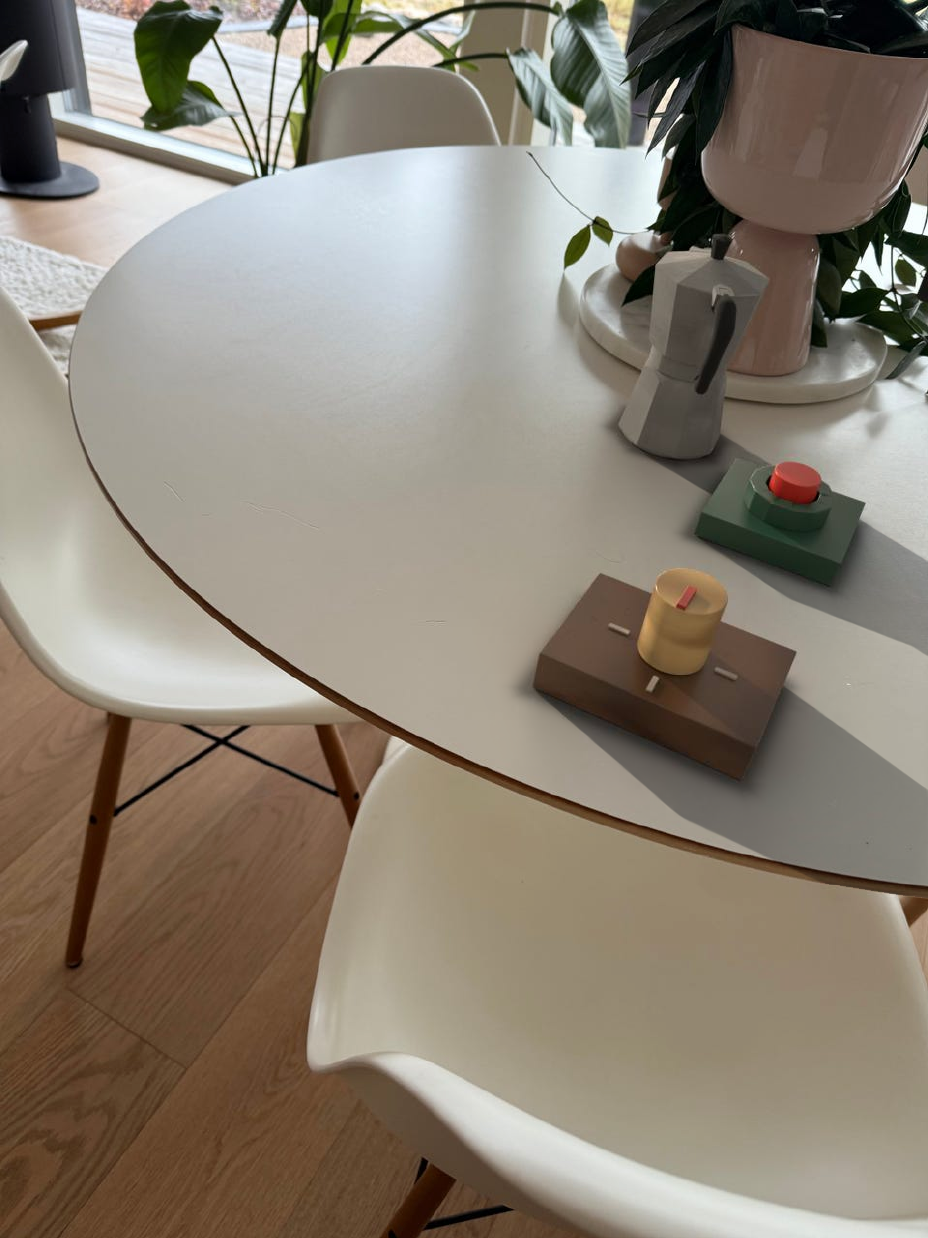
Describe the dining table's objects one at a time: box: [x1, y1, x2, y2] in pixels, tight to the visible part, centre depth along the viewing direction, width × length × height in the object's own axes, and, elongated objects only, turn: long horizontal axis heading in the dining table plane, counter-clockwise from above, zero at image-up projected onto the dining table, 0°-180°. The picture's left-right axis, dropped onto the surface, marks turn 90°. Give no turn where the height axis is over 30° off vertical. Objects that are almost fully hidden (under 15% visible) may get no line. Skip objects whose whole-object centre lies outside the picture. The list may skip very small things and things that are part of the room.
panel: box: [531, 572, 797, 781], centre depth 64 cm, size 14×10×3 cm
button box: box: [693, 457, 866, 587], centre depth 80 cm, size 11×10×4 cm
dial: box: [637, 567, 729, 675], centre depth 62 cm, size 4×4×5 cm
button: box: [769, 461, 822, 504], centre depth 78 cm, size 4×4×2 cm
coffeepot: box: [618, 233, 771, 460], centre depth 84 cm, size 15×9×18 cm, turn 178°
